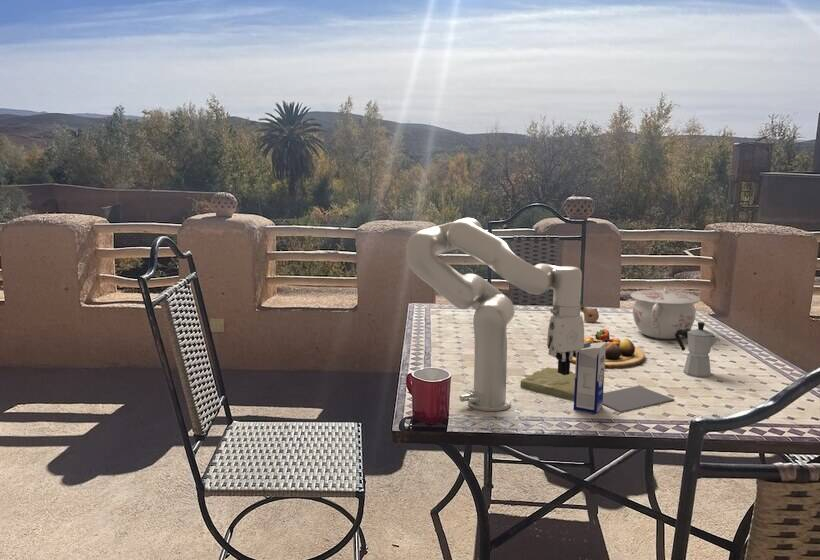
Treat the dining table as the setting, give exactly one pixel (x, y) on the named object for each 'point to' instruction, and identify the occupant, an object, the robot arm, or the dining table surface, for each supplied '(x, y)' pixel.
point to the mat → (632, 398)
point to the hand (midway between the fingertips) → (563, 373)
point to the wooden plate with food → (616, 351)
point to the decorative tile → (551, 383)
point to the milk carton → (589, 377)
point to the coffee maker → (697, 350)
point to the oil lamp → (589, 314)
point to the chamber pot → (663, 312)
